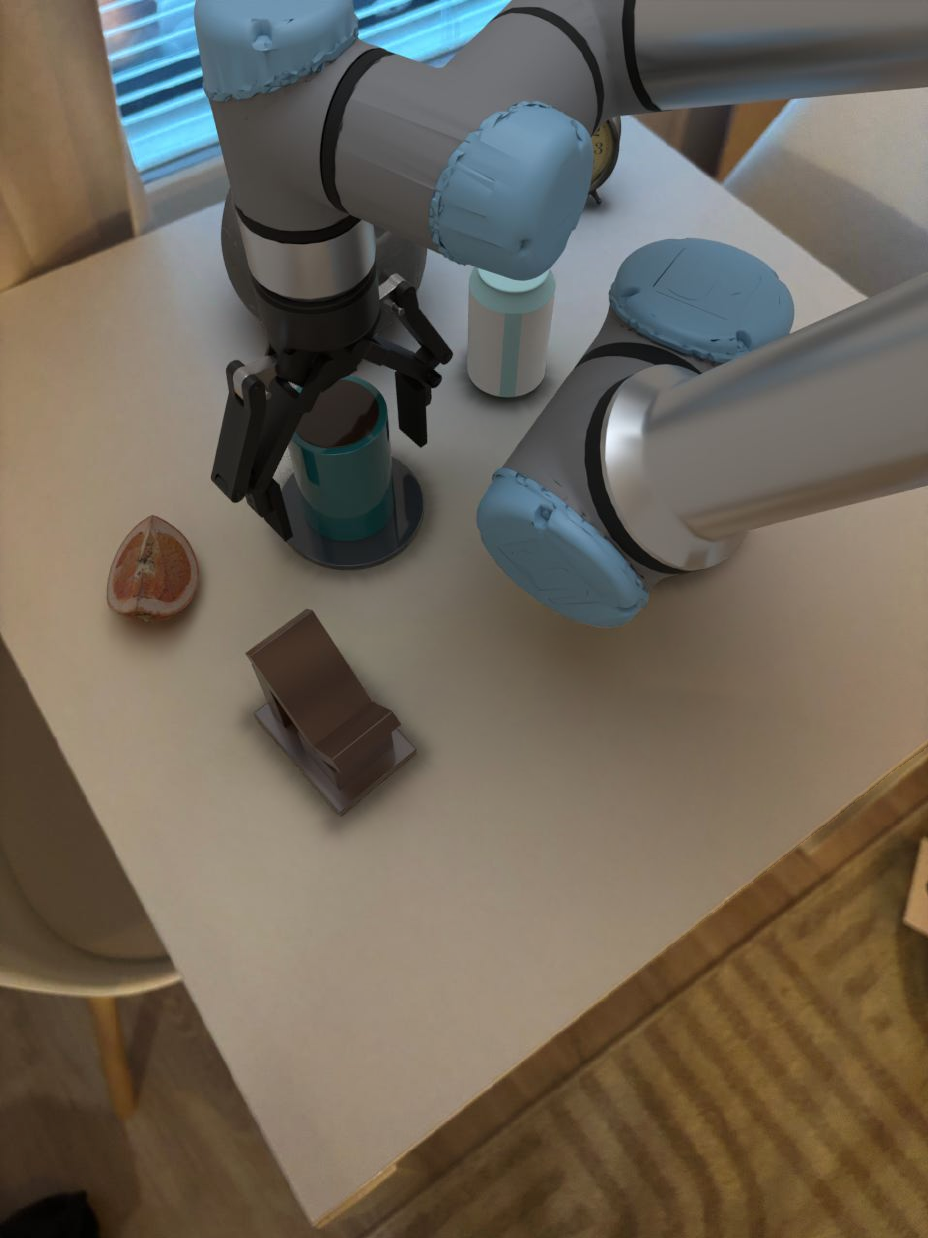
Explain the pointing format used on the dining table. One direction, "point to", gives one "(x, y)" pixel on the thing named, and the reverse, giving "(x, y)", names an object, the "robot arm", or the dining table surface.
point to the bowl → (388, 254)
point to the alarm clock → (604, 154)
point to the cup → (345, 462)
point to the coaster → (365, 550)
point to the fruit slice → (152, 572)
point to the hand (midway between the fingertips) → (348, 481)
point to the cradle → (325, 713)
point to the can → (508, 331)
